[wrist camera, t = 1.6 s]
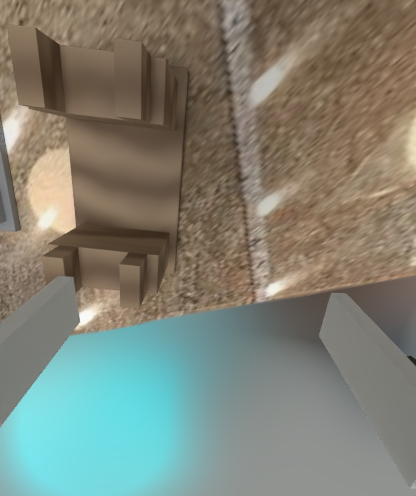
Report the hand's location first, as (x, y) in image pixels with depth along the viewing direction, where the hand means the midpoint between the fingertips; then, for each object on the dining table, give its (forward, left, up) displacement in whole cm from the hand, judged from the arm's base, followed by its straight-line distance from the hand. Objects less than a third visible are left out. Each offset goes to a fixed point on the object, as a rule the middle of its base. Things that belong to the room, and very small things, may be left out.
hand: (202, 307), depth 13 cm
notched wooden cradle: (-3, -11, -24) cm, 26 cm away
